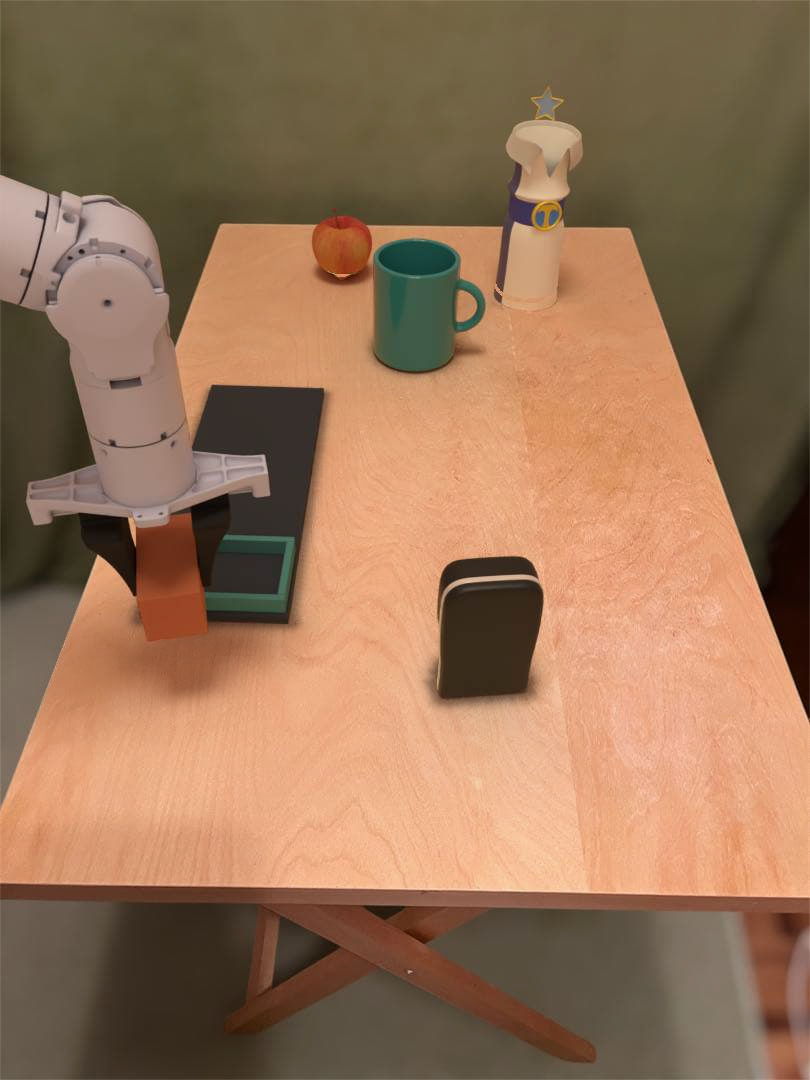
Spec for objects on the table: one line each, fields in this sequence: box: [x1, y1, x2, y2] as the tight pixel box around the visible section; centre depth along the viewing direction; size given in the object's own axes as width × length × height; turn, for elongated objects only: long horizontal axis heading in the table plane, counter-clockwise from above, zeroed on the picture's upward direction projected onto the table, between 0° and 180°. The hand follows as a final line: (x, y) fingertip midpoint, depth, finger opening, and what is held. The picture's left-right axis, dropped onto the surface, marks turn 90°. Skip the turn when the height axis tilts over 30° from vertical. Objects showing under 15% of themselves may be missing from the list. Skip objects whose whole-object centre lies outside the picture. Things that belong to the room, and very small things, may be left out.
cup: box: [372, 237, 487, 373], centre depth 97 cm, size 9×12×11 cm
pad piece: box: [135, 513, 209, 643], centre depth 62 cm, size 4×8×4 cm, turn 13°
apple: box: [311, 207, 373, 281], centre depth 112 cm, size 7×7×8 cm
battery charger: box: [436, 555, 545, 697], centre depth 64 cm, size 7×4×11 cm, turn 96°
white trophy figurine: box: [493, 85, 584, 312], centre depth 103 cm, size 8×9×25 cm
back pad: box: [138, 384, 325, 625], centre depth 82 cm, size 32×12×2 cm, turn 179°
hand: (171, 581), depth 63 cm, fingers closed on pad piece, 4 cm apart
